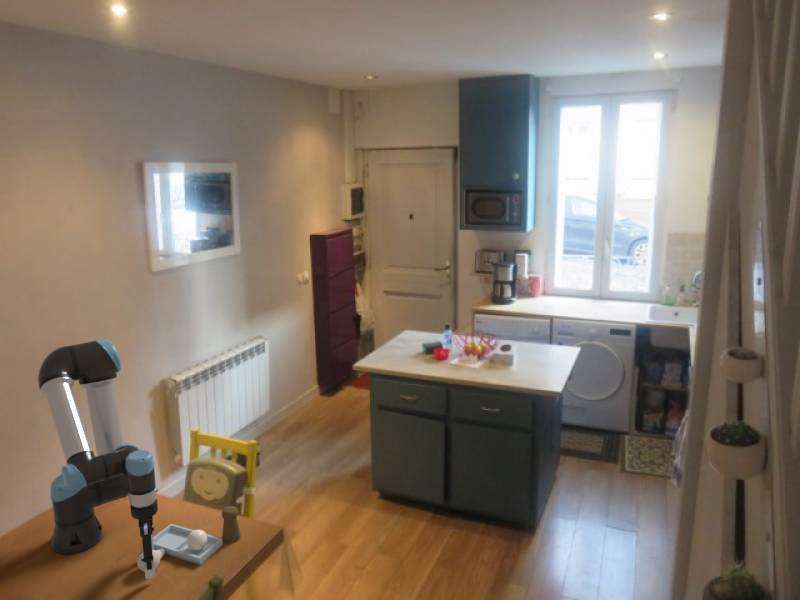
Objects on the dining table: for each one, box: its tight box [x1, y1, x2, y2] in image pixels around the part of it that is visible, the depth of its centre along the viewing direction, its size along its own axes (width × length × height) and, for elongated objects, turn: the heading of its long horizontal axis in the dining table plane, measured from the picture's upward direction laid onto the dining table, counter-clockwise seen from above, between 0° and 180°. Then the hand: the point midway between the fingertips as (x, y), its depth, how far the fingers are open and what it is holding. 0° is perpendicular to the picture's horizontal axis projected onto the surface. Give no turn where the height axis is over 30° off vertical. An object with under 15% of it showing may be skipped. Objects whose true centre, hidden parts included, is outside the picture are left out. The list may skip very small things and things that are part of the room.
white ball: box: [187, 529, 207, 551], centre depth 200 cm, size 6×6×6 cm
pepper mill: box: [221, 505, 242, 544], centre depth 207 cm, size 6×6×11 cm
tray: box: [153, 523, 224, 566], centre depth 203 cm, size 21×11×2 cm, turn 68°
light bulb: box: [137, 549, 166, 573], centre depth 193 cm, size 7×7×11 cm
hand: (149, 564), depth 192 cm, fingers open, 12 cm apart
